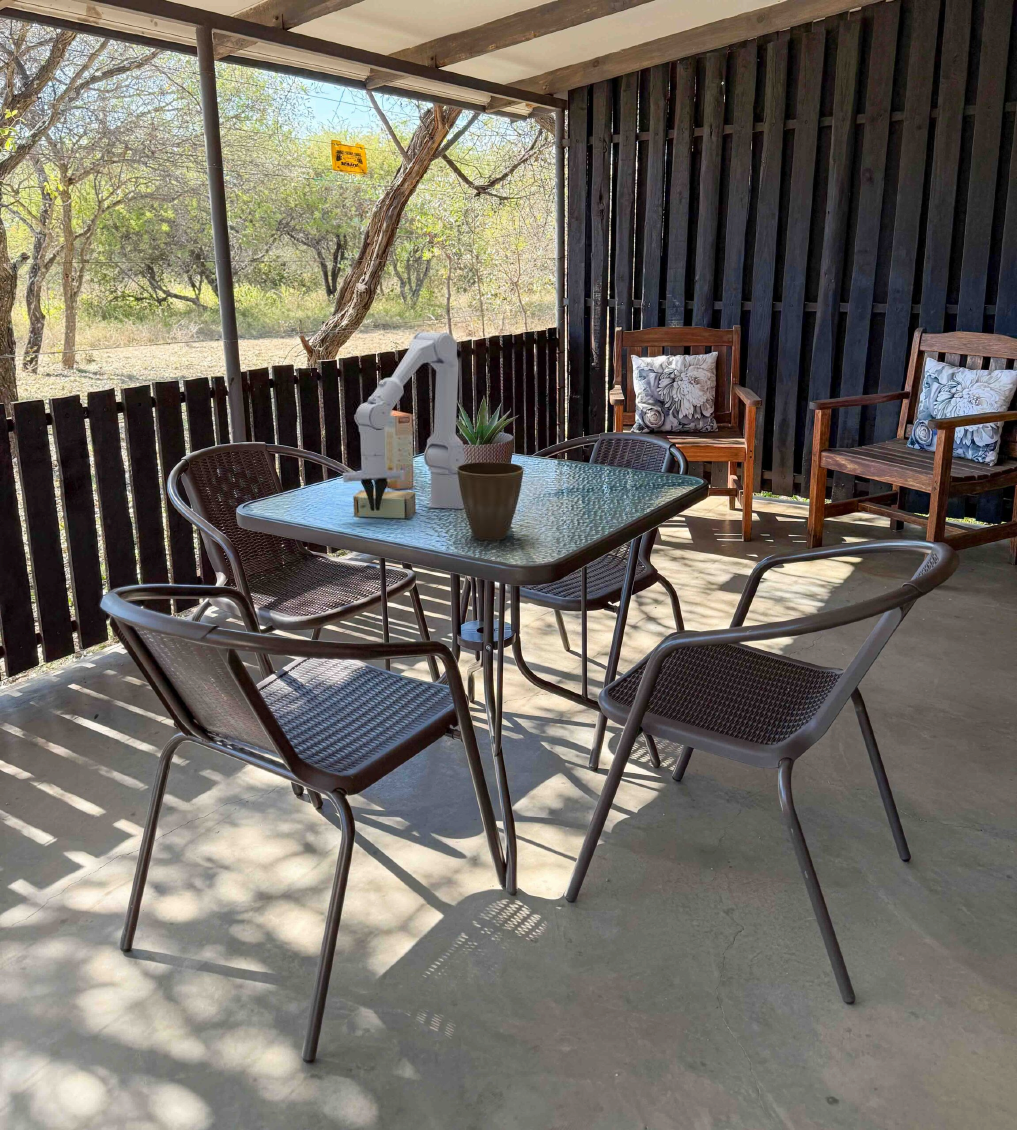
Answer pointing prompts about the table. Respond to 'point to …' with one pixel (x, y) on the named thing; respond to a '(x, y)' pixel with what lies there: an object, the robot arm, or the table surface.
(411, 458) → the cracker box
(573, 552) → the table surface
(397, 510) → the door
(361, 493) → the tan wooden crate
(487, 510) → the plant pot
